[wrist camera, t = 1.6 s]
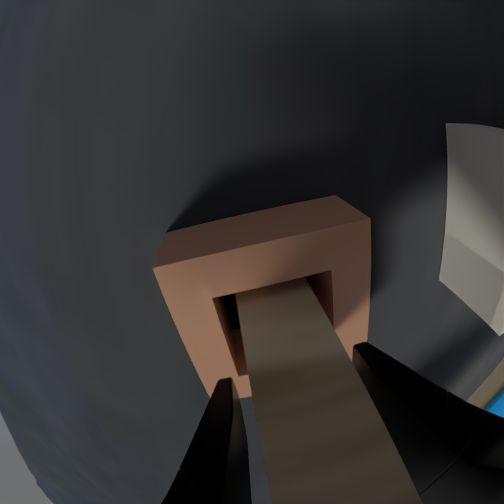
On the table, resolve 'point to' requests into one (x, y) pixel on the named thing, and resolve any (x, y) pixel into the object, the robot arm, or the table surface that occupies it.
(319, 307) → the tan square peg
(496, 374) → the book
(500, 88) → the table surface
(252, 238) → the holder
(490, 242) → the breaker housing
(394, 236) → the table surface
